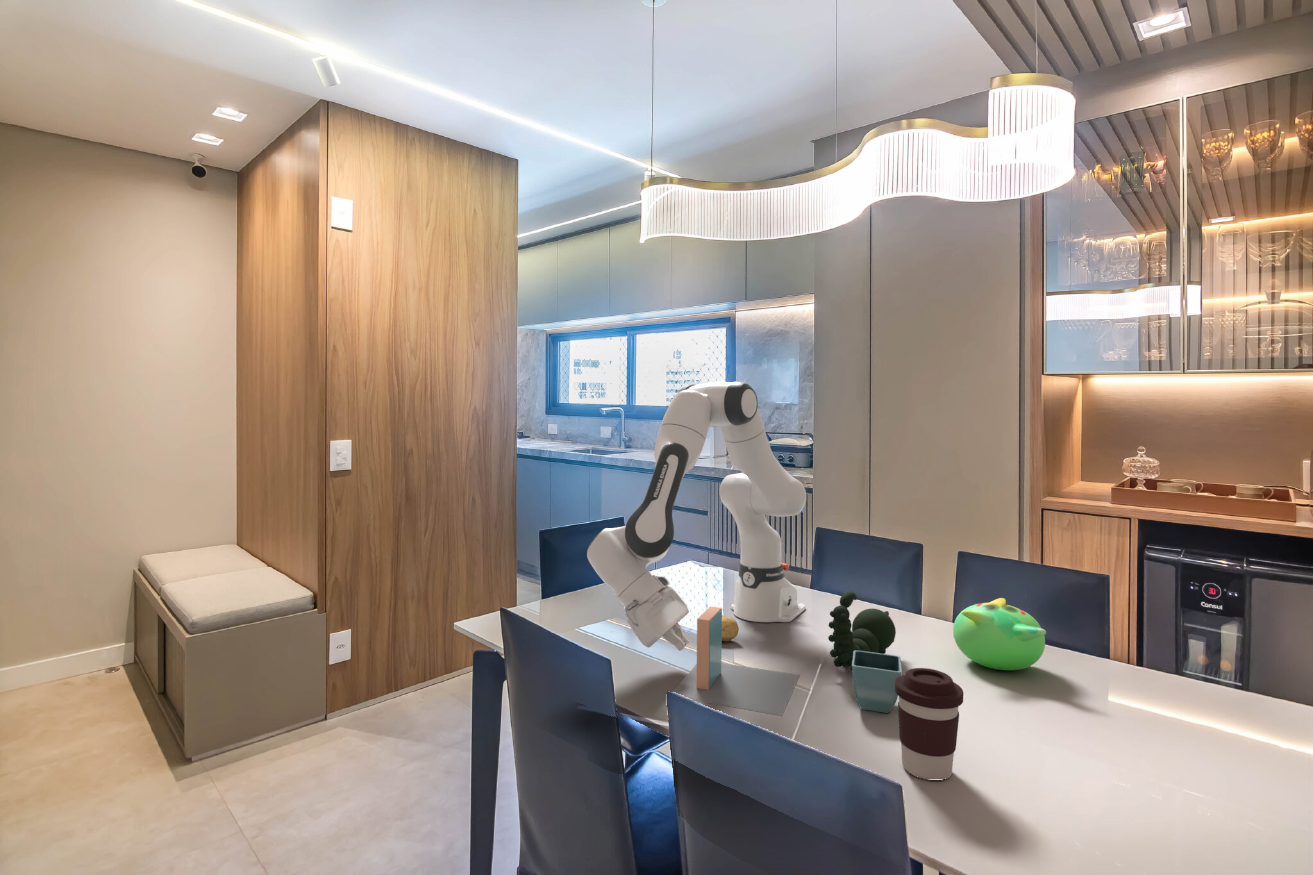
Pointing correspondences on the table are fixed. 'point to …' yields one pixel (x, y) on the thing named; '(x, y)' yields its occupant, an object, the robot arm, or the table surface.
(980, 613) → the squishy toy
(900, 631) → the table surface
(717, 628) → the block
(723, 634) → the potato
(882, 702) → the flower pot
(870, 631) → the toy figurine
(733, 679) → the mat
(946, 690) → the coffee cup
